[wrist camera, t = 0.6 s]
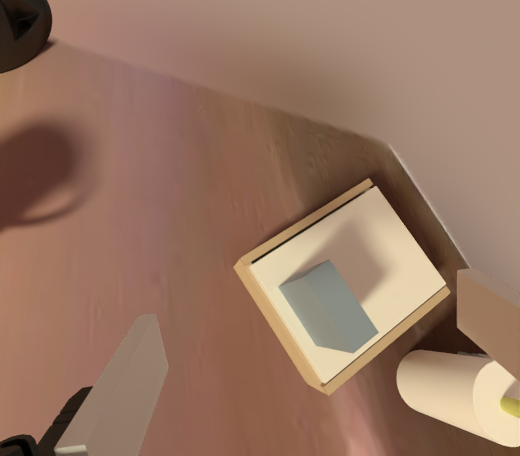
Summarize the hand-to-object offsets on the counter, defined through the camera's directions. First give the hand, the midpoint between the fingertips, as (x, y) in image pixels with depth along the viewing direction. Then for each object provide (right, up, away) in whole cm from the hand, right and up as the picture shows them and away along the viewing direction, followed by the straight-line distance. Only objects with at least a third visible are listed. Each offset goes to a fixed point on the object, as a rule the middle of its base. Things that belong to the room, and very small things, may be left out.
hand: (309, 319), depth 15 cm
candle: (+16, -13, +23) cm, 30 cm away
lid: (+6, -1, +18) cm, 19 cm away
